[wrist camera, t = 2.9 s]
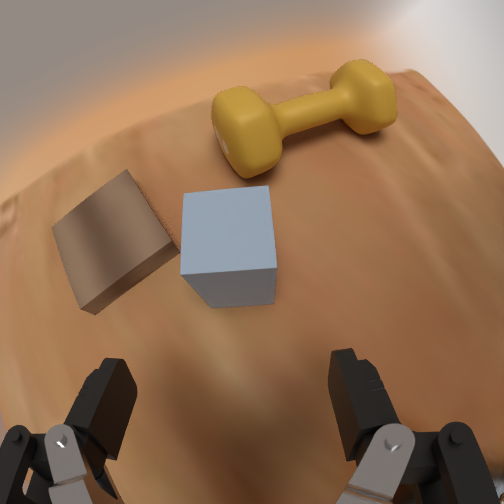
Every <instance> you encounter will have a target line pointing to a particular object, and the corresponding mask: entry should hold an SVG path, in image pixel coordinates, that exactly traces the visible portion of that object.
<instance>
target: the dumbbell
mask: <svg viewBox="0 0 504 504" xmlns="http://www.w3.org/2000/svg"><path fill="white" fill-rule="evenodd" d="M211 118H212V124H213V127H214V130H215V133H216V136H217V139H218V142H219V145H220V147H221V149H222V151H223V153H224V155H225V157H226V158H227V160H228V162H229V163H230V165H231V166H232V167H233V169H234V170H235V171H236V172H237V173H238V174H239V175H240V176H241V177H243V178H251V177H254V176H256V175H258V174H261V173H263V172H265V171H267V170H269V169H271V168H272V167H273V166H274V165H276V164H277V163H278V161H279V160H280V158H281V155H282V140H283V139H284V138H285V137H286V136H288V135H290V134H294V133H297V132H300V131H304V130H307V129H310V128H313V127H316V126H319V125H322V124H325V123H329V122H332V121H334V120H337V119H342V120H343V121H344V122H345V123H346V124H347V125H348V126H349V127H350V128H351V129H352V130H354V131H355V132H356V133H358V134H362V135H365V134H370V133H373V132H376V131H379V130H381V129H384V128H386V127H388V126H389V125H391V124H393V123H394V122H395V121H396V119H397V100H396V93H395V88H394V84H393V82H392V80H391V79H390V77H389V76H388V75H387V74H385V73H384V72H383V71H382V70H381V69H379V68H378V67H377V66H375V65H374V64H373V63H371V62H369V61H367V60H363V59H361V60H353V61H349V62H347V63H345V64H344V65H343V66H341V67H340V68H339V69H338V70H337V71H336V72H335V73H334V74H333V75H332V77H331V79H330V90H327V91H322V92H317V93H312V94H307V95H303V96H300V97H297V98H294V99H290V100H288V101H285V102H282V103H279V104H269V103H267V102H266V101H265V100H264V99H263V98H262V97H261V96H260V95H259V94H258V93H256V92H255V91H254V90H252V89H250V88H248V87H244V86H238V87H234V88H230V89H228V90H224V91H221V92H220V93H218V94H217V95H216V96H215V97H214V99H213V103H212V111H211Z"/></svg>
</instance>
